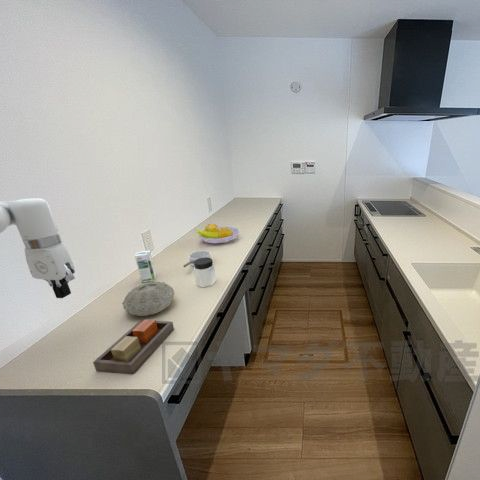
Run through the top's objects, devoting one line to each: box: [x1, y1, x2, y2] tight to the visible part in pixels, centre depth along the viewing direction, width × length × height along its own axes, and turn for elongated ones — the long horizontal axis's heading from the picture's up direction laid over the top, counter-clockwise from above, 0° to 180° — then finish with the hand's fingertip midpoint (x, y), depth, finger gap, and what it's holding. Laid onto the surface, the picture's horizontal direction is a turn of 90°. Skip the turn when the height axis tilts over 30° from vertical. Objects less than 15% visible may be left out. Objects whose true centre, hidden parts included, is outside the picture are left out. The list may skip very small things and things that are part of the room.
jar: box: [193, 257, 217, 288], centre depth 126 cm, size 9×8×12 cm
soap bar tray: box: [92, 318, 175, 375], centre depth 87 cm, size 12×20×6 cm, turn 175°
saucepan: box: [182, 250, 212, 268], centre depth 143 cm, size 12×20×6 cm, turn 173°
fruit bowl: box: [194, 223, 240, 244], centre depth 181 cm, size 28×27×11 cm
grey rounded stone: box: [122, 281, 175, 317], centre depth 107 cm, size 18×18×10 cm
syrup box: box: [134, 250, 157, 283], centre depth 128 cm, size 6×6×14 cm
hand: (64, 295), depth 82 cm, fingers closed
